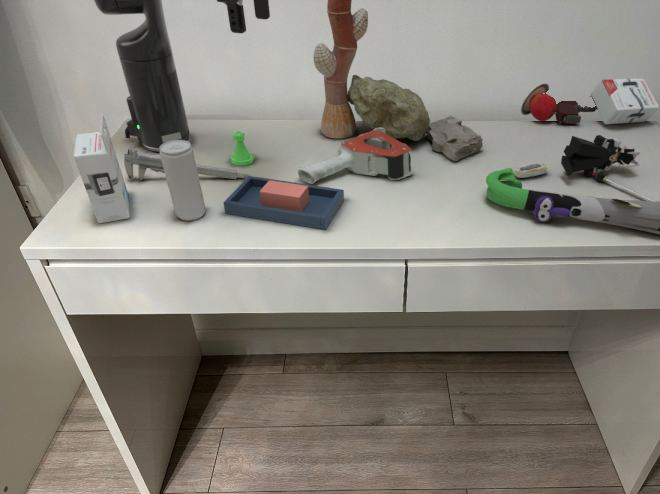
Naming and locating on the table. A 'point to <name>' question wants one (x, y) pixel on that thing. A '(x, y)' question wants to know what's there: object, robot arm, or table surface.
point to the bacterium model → (530, 170)
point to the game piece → (241, 151)
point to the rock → (389, 107)
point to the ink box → (624, 100)
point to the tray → (313, 215)
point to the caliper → (156, 165)
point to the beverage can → (182, 179)
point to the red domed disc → (539, 103)
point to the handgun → (570, 112)
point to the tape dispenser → (365, 158)
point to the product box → (102, 175)
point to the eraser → (284, 196)
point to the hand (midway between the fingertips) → (251, 25)
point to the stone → (453, 138)
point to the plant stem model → (339, 66)
